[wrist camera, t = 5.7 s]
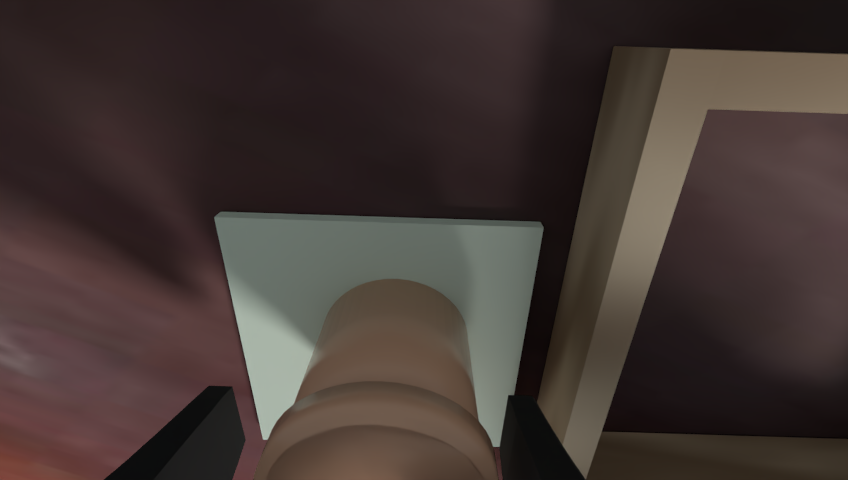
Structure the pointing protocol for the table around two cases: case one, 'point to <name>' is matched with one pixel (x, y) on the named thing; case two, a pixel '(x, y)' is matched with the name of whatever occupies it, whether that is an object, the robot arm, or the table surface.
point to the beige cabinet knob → (384, 395)
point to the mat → (368, 261)
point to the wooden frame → (640, 249)
